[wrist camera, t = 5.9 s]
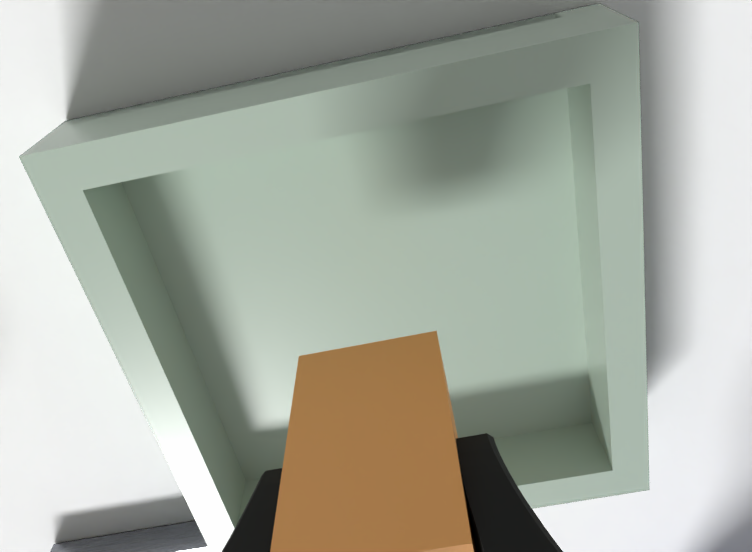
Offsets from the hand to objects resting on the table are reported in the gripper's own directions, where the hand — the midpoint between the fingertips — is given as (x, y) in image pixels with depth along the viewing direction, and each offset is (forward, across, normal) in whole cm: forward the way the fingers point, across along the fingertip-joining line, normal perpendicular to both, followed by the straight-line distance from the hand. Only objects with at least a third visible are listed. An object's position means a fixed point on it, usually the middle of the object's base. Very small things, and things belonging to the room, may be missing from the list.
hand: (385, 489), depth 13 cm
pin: (+3, 0, 0) cm, 3 cm away
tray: (+7, 0, 0) cm, 7 cm away
